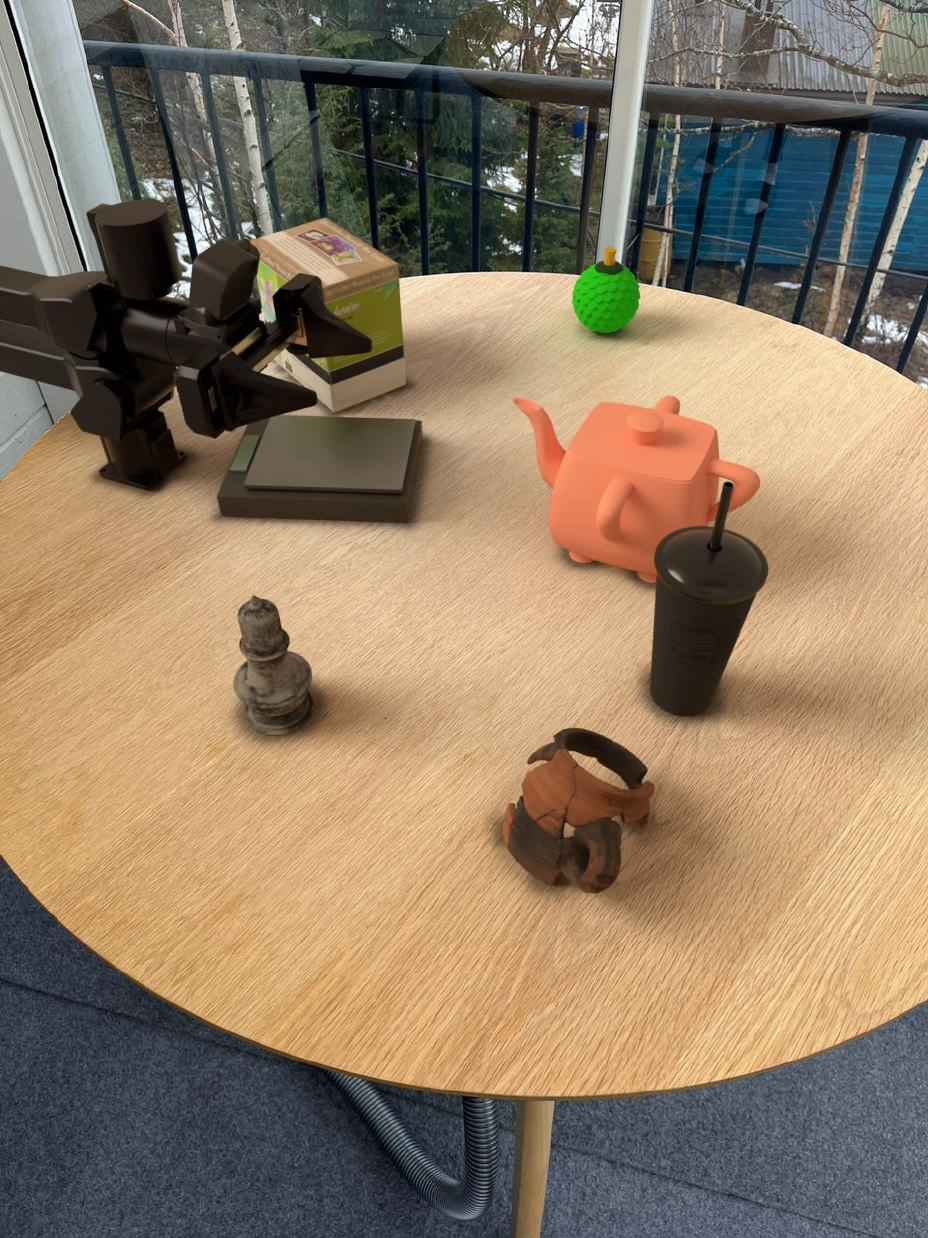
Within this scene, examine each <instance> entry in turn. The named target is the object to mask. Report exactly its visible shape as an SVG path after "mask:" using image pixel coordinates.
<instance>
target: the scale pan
mask: <svg viewBox="0 0 928 1238" xmlns="http://www.w3.org/2000/svg"><path fill="white" fill-rule="evenodd" d="M416 420H417V419H416V418H395V417H394V418H393V417H363V416H330V415H329V416H327V415H326V416H325V415H324V416H323V415H297V414H296V415H295V414H292V415H291V414H282V415H278V416H275V417H271V418H270V420H269V422H268V425H267V427H266V430H265V432H264V435H263V437H262V440H261V442H260V445H259V447H258V450H257V452H256V455H255V457H254V460H253V462H252V465H251V467H250V470H249V472H248V475H247V477H246V480H245V482H244V487H245V489H270V490H299V491H329V492H358V493H387V494H402V492H403V487H404V481H405V476H406V471H407V466H408V461H409V456H410V451H411V446H412V440H413V435H414V430H415V425H416Z"/></svg>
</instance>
